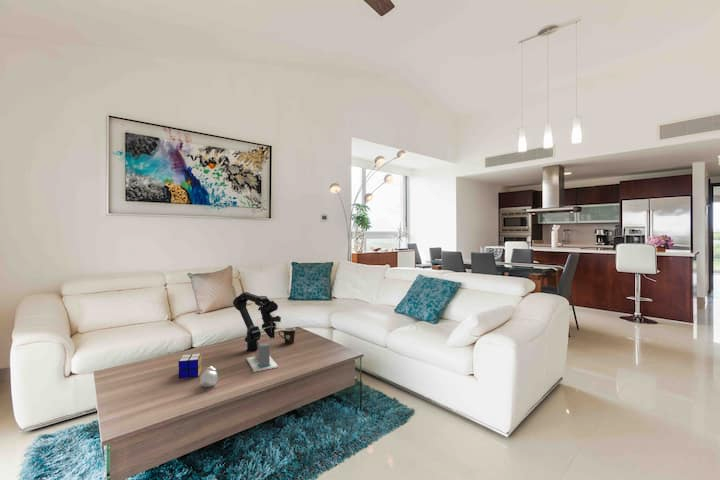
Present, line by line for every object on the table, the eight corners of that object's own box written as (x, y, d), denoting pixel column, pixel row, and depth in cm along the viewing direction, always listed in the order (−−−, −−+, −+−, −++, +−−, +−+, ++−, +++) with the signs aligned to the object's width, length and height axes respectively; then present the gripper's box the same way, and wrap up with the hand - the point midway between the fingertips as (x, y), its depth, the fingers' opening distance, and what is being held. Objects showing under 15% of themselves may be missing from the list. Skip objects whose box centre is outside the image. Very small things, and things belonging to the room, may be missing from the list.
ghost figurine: (222, 384, 184) (222, 366, 184) (207, 391, 176) (206, 372, 175) (211, 380, 189) (211, 362, 188) (196, 387, 180) (195, 368, 180)
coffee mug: (297, 342, 253) (297, 328, 253) (289, 345, 246) (289, 331, 245) (286, 339, 259) (286, 326, 259) (277, 342, 252) (277, 329, 252)
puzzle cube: (178, 379, 190) (178, 361, 190) (182, 371, 200) (182, 354, 199) (198, 377, 193) (198, 359, 192) (201, 370, 202) (201, 353, 202)
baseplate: (246, 359, 219) (246, 354, 219) (268, 355, 226) (268, 350, 226) (254, 372, 200) (254, 366, 200) (278, 367, 207) (278, 361, 207)
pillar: (259, 364, 209) (259, 343, 208) (267, 362, 211) (267, 342, 211) (261, 367, 204) (261, 346, 204) (269, 365, 207) (269, 345, 206)
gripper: (275, 310, 220) (282, 334, 216) (280, 311, 238) (286, 333, 234) (258, 316, 218) (265, 340, 215) (264, 317, 236) (270, 339, 233)
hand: (272, 338), depth 224 cm, fingers open, 9 cm apart
